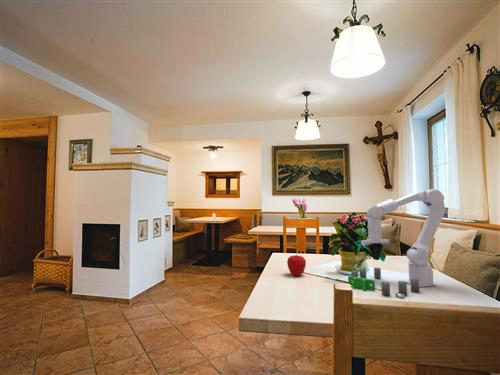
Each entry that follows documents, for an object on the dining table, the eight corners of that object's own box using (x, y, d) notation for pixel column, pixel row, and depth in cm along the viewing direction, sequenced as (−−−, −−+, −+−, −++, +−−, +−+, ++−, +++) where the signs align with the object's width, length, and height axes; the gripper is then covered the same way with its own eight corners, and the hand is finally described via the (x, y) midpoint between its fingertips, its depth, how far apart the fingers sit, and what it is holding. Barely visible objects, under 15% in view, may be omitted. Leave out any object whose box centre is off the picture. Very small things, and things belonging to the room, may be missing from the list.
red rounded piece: (307, 277, 134) (307, 256, 134) (288, 278, 134) (288, 256, 134) (304, 272, 143) (303, 252, 144) (286, 272, 144) (286, 252, 144)
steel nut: (398, 295, 108) (397, 292, 108) (406, 298, 105) (406, 294, 105) (393, 297, 106) (393, 293, 106) (401, 299, 103) (401, 296, 103)
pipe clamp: (346, 287, 118) (345, 277, 119) (349, 285, 121) (348, 275, 121) (372, 293, 111) (372, 281, 111) (375, 290, 114) (374, 279, 114)
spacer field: (378, 277, 133) (378, 267, 134) (423, 293, 109) (422, 280, 110) (348, 280, 129) (348, 269, 129) (388, 298, 105) (388, 285, 105)
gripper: (381, 229, 133) (382, 256, 132) (356, 230, 129) (357, 258, 128) (392, 230, 126) (393, 259, 125) (366, 232, 122) (367, 261, 121)
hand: (375, 259), depth 126 cm, fingers closed
